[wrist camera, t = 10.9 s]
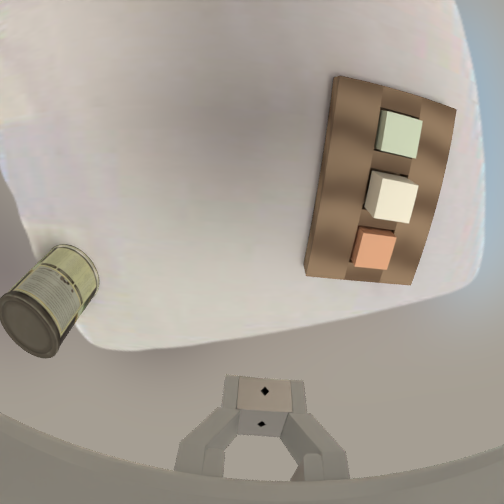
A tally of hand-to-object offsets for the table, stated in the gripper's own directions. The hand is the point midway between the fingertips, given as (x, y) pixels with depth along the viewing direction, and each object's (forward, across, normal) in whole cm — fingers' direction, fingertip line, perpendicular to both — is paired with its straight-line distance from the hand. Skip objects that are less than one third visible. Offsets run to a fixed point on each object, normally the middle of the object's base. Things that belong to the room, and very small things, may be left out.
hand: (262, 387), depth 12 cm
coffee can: (+29, +28, +16) cm, 44 cm away
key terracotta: (+28, -14, +5) cm, 32 cm away
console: (+29, -14, -2) cm, 32 cm away
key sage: (+28, -14, -9) cm, 33 cm away
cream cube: (+26, -14, -2) cm, 30 cm away
